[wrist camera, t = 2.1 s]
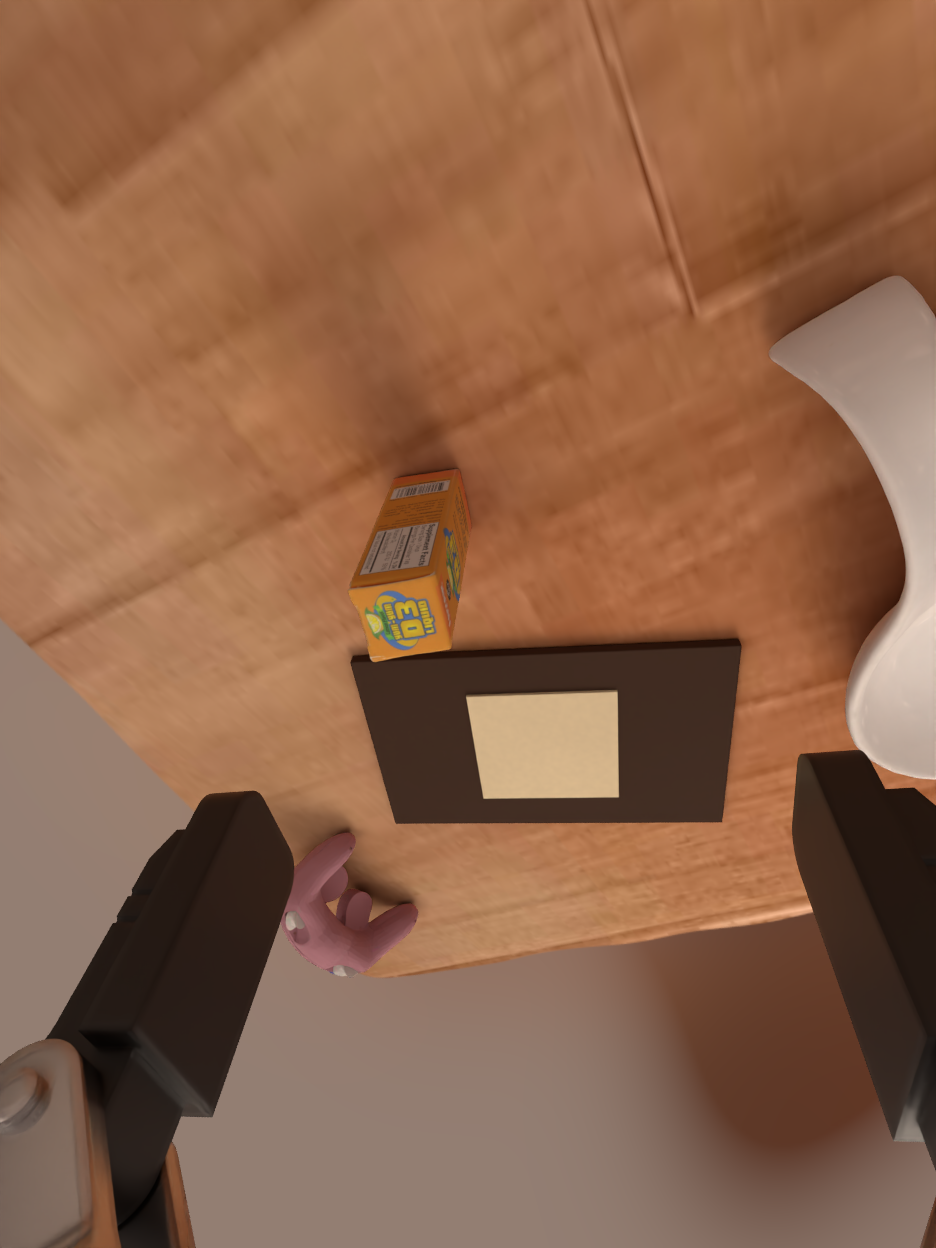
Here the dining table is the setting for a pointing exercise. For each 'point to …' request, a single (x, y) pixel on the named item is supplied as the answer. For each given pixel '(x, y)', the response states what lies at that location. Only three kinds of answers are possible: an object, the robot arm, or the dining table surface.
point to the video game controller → (339, 914)
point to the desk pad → (554, 732)
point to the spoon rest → (916, 490)
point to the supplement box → (413, 567)
